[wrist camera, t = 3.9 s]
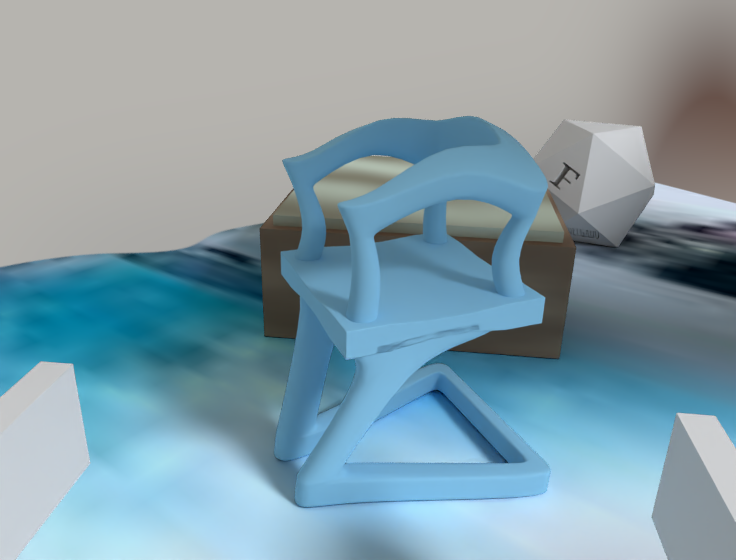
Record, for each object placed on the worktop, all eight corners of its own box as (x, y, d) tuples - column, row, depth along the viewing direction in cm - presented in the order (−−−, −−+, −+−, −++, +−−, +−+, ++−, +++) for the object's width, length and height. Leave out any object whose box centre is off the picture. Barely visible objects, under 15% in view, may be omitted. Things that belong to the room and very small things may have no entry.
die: (506, 223, 52) (497, 136, 44) (592, 162, 53) (598, 67, 45) (582, 292, 47) (587, 209, 39) (674, 224, 48) (697, 130, 40)
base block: (318, 239, 45) (317, 151, 43) (529, 252, 44) (540, 162, 42) (264, 336, 32) (259, 217, 30) (559, 358, 31) (577, 236, 29)
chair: (256, 418, 26) (240, 106, 22) (444, 379, 29) (465, 97, 25) (320, 562, 20) (317, 158, 15) (552, 492, 23) (610, 137, 18)
